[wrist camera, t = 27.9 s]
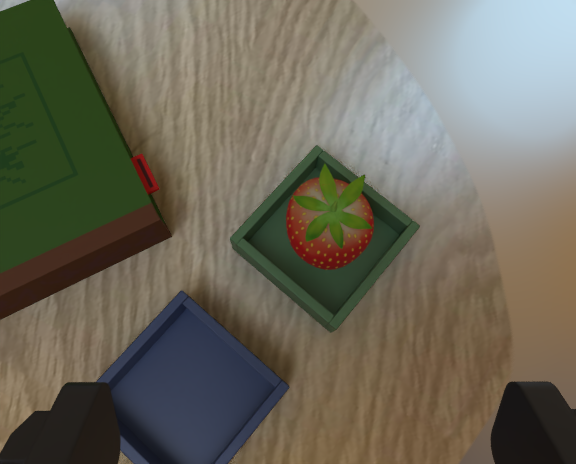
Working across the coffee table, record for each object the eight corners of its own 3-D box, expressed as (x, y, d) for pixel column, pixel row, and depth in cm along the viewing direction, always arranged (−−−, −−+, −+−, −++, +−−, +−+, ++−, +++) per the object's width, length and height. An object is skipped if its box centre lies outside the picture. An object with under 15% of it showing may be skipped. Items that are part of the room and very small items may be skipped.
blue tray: (288, 385, 31) (290, 386, 28) (192, 503, 29) (185, 515, 26) (188, 296, 32) (181, 289, 30) (90, 402, 30) (74, 405, 27)
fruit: (375, 246, 33) (407, 206, 25) (319, 295, 32) (335, 271, 24) (321, 189, 34) (337, 135, 26) (265, 236, 33) (264, 194, 25)
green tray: (409, 236, 34) (420, 225, 31) (331, 333, 32) (336, 329, 29) (313, 160, 35) (316, 144, 33) (232, 248, 33) (229, 238, 31)
